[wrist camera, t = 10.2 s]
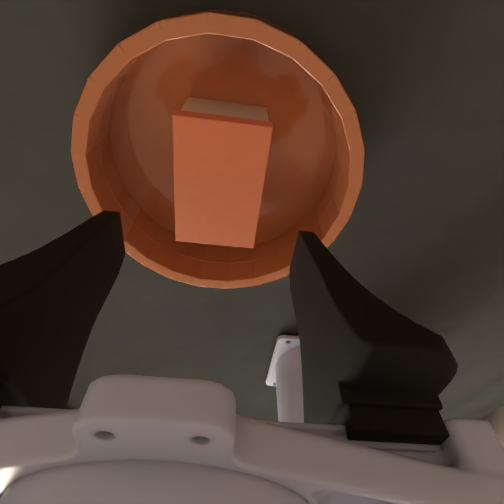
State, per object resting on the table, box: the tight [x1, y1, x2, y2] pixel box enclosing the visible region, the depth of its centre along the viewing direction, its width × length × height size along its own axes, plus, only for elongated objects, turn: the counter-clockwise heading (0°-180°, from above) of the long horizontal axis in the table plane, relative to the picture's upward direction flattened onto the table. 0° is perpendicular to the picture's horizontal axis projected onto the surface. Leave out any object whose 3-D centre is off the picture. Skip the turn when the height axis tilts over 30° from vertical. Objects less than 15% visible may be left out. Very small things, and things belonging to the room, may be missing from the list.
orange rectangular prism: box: [172, 97, 273, 248], centre depth 18 cm, size 4×7×4 cm, turn 173°
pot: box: [71, 8, 365, 289], centre depth 19 cm, size 14×14×4 cm
